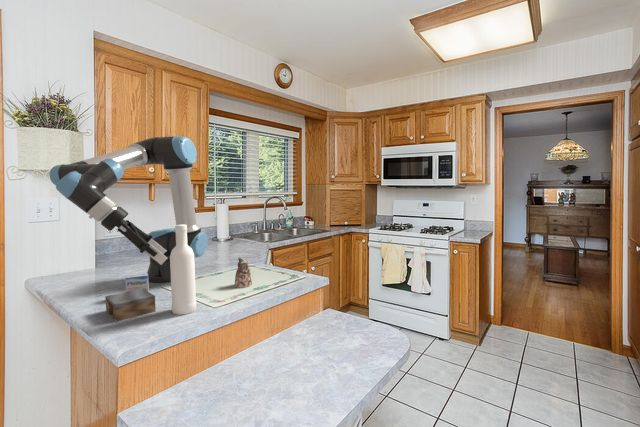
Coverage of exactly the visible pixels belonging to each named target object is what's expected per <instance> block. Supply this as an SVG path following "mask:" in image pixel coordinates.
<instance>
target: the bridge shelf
mask: <svg viewBox="0 0 640 427" xmlns="http://www.w3.org/2000/svg"><path fill="white" fill-rule="evenodd" d="M104 298H105V299H104V300H105V312H106V313H107V314H109V315H112V316H113V320H114V321H116V322H120V321H123V320H128V319H131V318H132V319H133V318H136V317H139V316H143V315H146V314H150V313H155V312H156V311H157V310H156V308H157V307H156V295H155V294H152V292H150V291H149V292H148V291H146V290H144V289H138V290H133V291H129V292H126V291H124V292H120V293H114V294H110V295H106V296H105V297H104Z"/></svg>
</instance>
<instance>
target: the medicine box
mask: <svg viewBox="0 0 640 427" xmlns="http://www.w3.org/2000/svg"><path fill="white" fill-rule="evenodd" d="M124 282H125V292H129V291H133V290H138V289H144V290H146V291H148V292H149V293H150V288H149V284H150V282H148V274H147V273H139V274H131V275H125V278H124Z"/></svg>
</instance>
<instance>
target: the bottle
mask: <svg viewBox="0 0 640 427" xmlns="http://www.w3.org/2000/svg"><path fill="white" fill-rule="evenodd" d="M174 228H175V231H176V246H175V247H174V248H173V249H172V251H171V254H170V270H171V281H170V288H171V290H170V291H171V309H172V311H171V312H172V314H174V315H179V316H181V315H189V314H192V313H194V312H195V311H196V310H197V295H196V291H197V290H196V271H195V270H196V268H195V258H194V252H193V250H192V248H191V247H189V246H188V245H187V225H176V224H175V227H174Z"/></svg>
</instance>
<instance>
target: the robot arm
mask: <svg viewBox="0 0 640 427" xmlns="http://www.w3.org/2000/svg"><path fill="white" fill-rule="evenodd" d="M197 157H198V155H197V149H196V146H195V144H194V142H193V141H192V140H191V139H190V138H189V137H187V136H177V135H175V136H156V137H150V138H146V139H143V140H140V141H137V142H133V143H131V144H129V145H128V146H127V147H126V148H122V149H118V150H115V151H112V152H109V153H105V154H100V155H98V156H93V157H89V158H87V159H83V160H80V161H77V162H73V163H68V164H65V163H63V164H57V165H54V166H53V167H52V168H50V171H49V175H48V176H49V179H50V182H51V183H52V184H53V185H54V186H55V189H56V190H57V191H58V192H59V193H60V194H61V195H62V196H64V197H65V199H66V200H68V201H69V202H70V203H72V204H74V205H75V206H76V207H78V208H79V209H80V210H82V211H83V212H84V213H86V214H88V215H89V216H88V218H89V219H91V220H92V219H93V220H95V221H97V222H100V224H101V226H102V227H104V228H105V229H106V230H108V231H109V232H110V231H112V230H114V229H115V228H116V227H117V229H116V230H117V231H118V232H119V233H120V234H121V235H122V236H124V237H125V238H127V240H128V241H129V242H130V243H132V244H133V245H134V246H135V247H136V248H137V249H139V253H141V254H143V253H145V254H146V255H148V256H149V266H148V269H147V271H146V274H148V283H165V282H171V270H170V254H171V251H172V249H173V248H174V247H175V246H176V231H175V227H174V228H173V227H172V228H164V229H157V230H152V231H150V232H149V233H145V231H143V230H142V229H140V228H139V227H138V226H136V225H135V224H134V223H133V222H131V221H130V220H129V219H126V220H125V218H126V217H127V216H128V215H129V213H128V211H126V210H125V209H124V208H123V207H121V206H118V203H117V202H116V201H114V200H113V199H112V198H111V197H110V196H108V195H107V194H106V193H104V192H105V191H106V190H108V189H109V188H111V187H112V186H113V185H114V184H117V182H118V181H120V179H121V178H122V177H124V174H125V173H124V172H125V170H127V169H131V168H133V167H143V166H146V165H147V166H148V165H149V166H150V165H163V170H164V171H165V172H166V173H168V178H169V185H170V186H169V187H170V193H171V200H172V207H173V213H174V220H175V226H176V225H187V245H188V246H189V247H191V248H192V250H193V252H194V259H196V258H201V257H202V256H203V255H204V254H205V252H206V250H207V249H208V245H209V243H208V240H209V239H208V238H209V237H208V235H207V233H206V232H204V231H202V228H201V226H200V225H199V224H198V223H197V217H196V211H195V209H196V208H195V201H194V195H193V194H194V193H193V187H192V180H191V170H192V169H193V168H194V167H193V166H194V165H193V164H194V163H196V161H197Z"/></svg>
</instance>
